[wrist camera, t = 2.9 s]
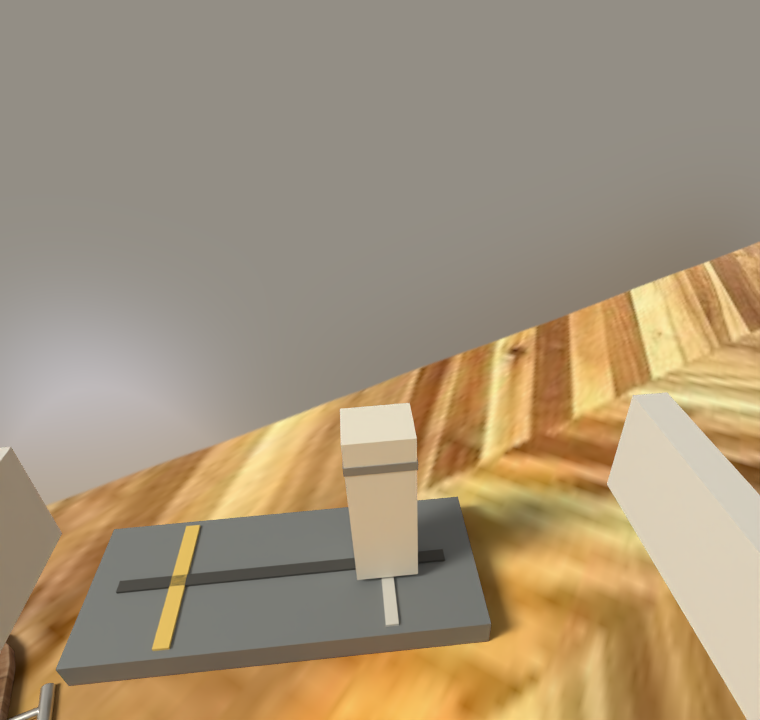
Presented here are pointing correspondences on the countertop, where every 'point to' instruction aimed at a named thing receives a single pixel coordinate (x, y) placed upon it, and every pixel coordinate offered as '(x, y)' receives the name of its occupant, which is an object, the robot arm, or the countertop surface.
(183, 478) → the countertop surface
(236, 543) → the fader console
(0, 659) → the chopping board
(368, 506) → the fader knob
